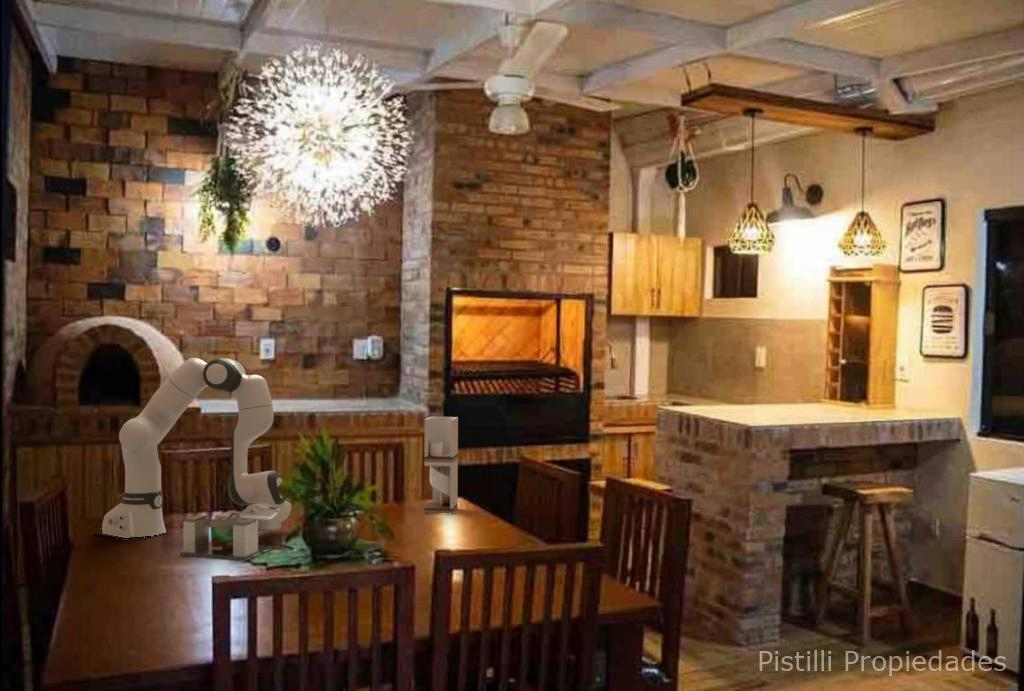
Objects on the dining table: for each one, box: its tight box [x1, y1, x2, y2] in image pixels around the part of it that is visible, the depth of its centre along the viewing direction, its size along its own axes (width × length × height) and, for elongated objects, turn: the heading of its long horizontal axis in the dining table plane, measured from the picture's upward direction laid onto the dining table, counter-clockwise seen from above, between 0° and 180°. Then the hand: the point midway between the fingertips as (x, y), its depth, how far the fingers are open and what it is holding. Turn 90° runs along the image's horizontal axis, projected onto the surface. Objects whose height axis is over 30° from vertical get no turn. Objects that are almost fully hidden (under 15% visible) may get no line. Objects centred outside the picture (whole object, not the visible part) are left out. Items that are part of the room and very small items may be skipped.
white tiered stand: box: [423, 416, 459, 515], centre depth 344 cm, size 11×11×35 cm
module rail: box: [179, 514, 273, 561], centre depth 277 cm, size 22×15×11 cm
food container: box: [209, 511, 242, 552], centre depth 277 cm, size 12×6×10 cm, turn 165°
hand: (232, 525), depth 280 cm, fingers open, 8 cm apart
